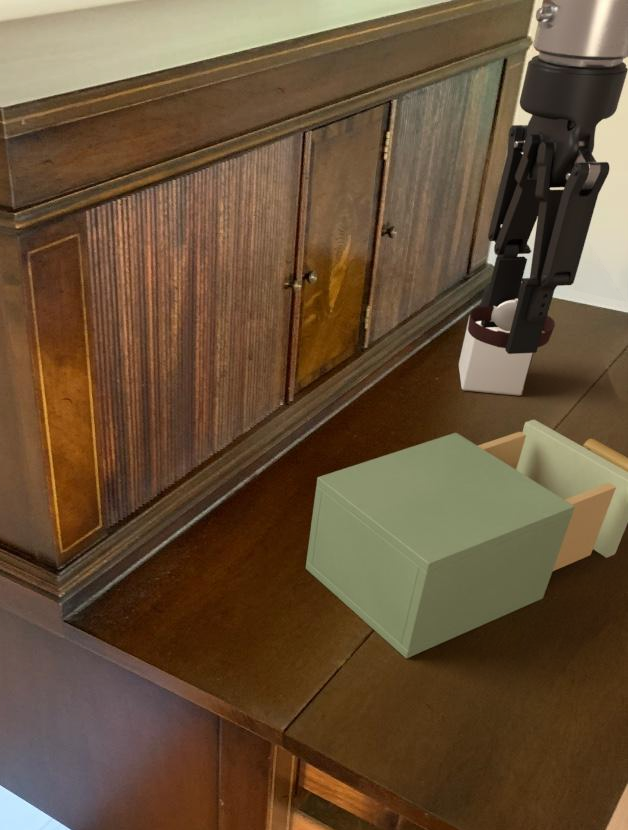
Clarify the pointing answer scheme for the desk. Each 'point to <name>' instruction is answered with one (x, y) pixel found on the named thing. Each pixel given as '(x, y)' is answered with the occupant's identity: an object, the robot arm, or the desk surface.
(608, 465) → the drawer
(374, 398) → the desk surface
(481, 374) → the medicine bottle
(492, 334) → the watch
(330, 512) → the cabinet
